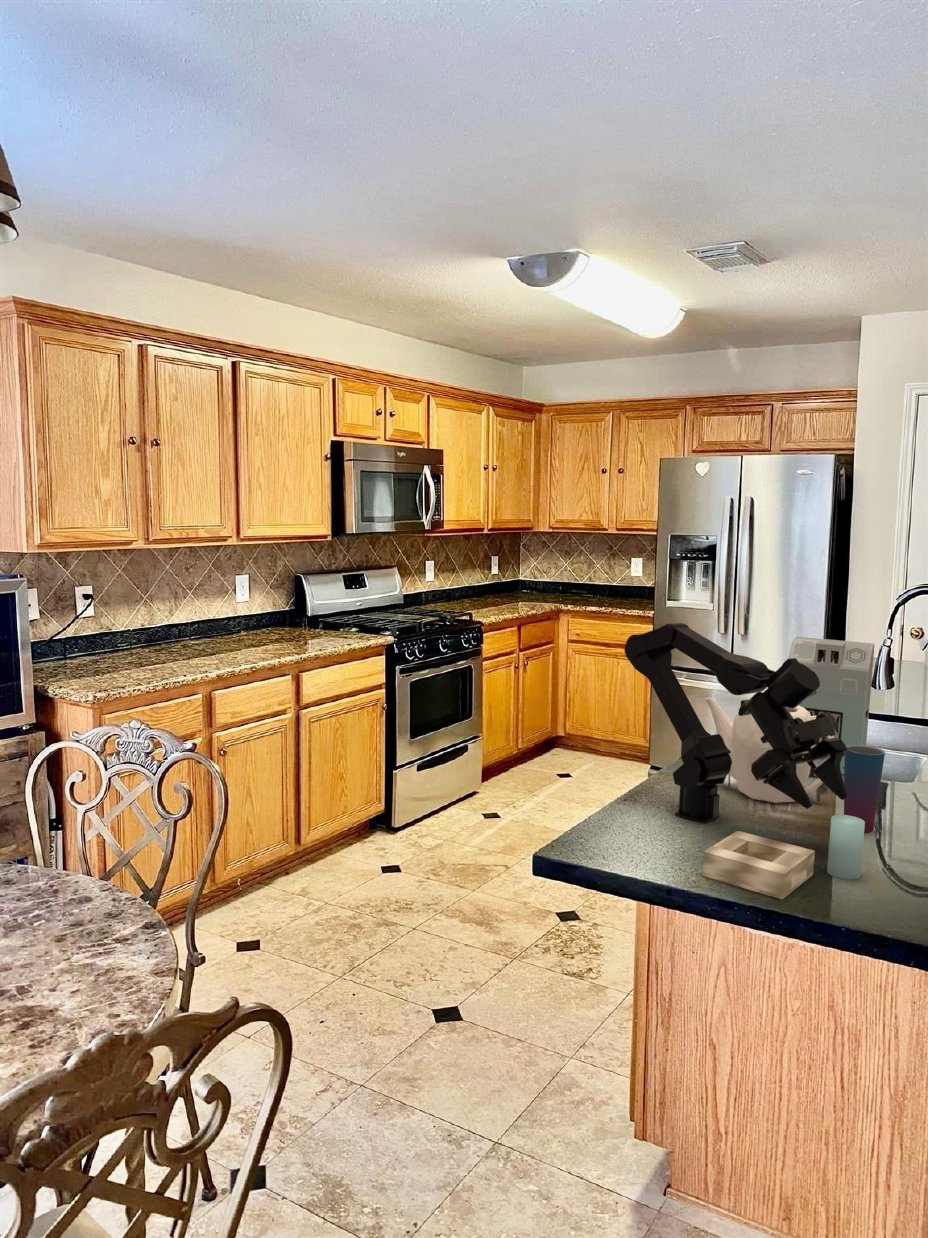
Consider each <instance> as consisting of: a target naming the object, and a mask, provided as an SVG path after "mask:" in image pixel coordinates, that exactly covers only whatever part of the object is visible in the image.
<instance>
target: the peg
mask: <svg viewBox="0 0 928 1238" xmlns="http://www.w3.org/2000/svg"><path fill="white" fill-rule="evenodd" d="M830 818H831V819H830V826H829V827H830V828H829V829H830V830H829V841H828V842H829V843H828V853H827V854H828V856H827V867H826V872H827V874H829V875H830V876H832V877H834V878H836V879H841V880H846V881H848V880H849V881H854V880H858V879H860V878H861V874H862V863H863V862H862V861H863V859H862V858H863V849H864V836H865V833H864V827H865V822H864V820H862V819H860V818H857V817H854V816H849V815H844V814H835V815H832V816H831V817H830Z"/></svg>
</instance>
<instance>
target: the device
mask: <svg viewBox="0 0 928 1238" xmlns="http://www.w3.org/2000/svg"><path fill="white" fill-rule="evenodd" d="M874 654H875V643H871V642H870V643H869V642H859V641H852V640H851V641H850V640H838V639H829V638H828V639H827V638H815V637H807V636H806V637H805V636H795V637H793V639H792V642H791V645H790V650H789V653H788V657H787V659H790V658H796V659H797V660H798V662H799V663H801V664H804V665H805V666H807V667H808V668H809V669H811V670H812V671H814V672H815V673H816V675H817V676H818V678H819V681H820V687H819V688H818V689H817V690H816V691H815V692H813V693H812V694H811V695H810V696H809V697H808V698H806V699H805V700H804V701H803V702H802V703H801V704H799V706H801V707H803V708H805V709H806V710H807V711H808V712H810V715H811V716H816V715H818V714H822V713H826V712H830V713H831V715H832V716H833V717H834V718H835V720H836V721H837V722H838V725H837V726H838V727H837V729H836V730H835V733H836V735H834V736H833V737H834V738H838V739H841V740H842V741H843V743H844V744H845V746H848V745H866V746H867V739H868V728H869V727H868V726H869V716H870V715H869V714H870V706H871V705H870V704H871V694H872V693H871V692H872V679H873V667H874ZM825 739H828V737H827V736H825V737H822V738H818V739H817V740H818V741H819V742H821V741H822V740H825ZM819 742H818V743H819ZM818 743H816V744H815V746H816V745H817V744H818ZM844 753H845V752H844ZM844 767H845V755H844V757H842V759H841V763H840V769H841V774H842V778H843V782H844ZM813 770H814V768H812V767H811V769H810V773H809V777H808V778H814V779H817V778H818V777H817V776H816V775H815V774H814V773H813V772H812V771H813Z"/></svg>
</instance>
